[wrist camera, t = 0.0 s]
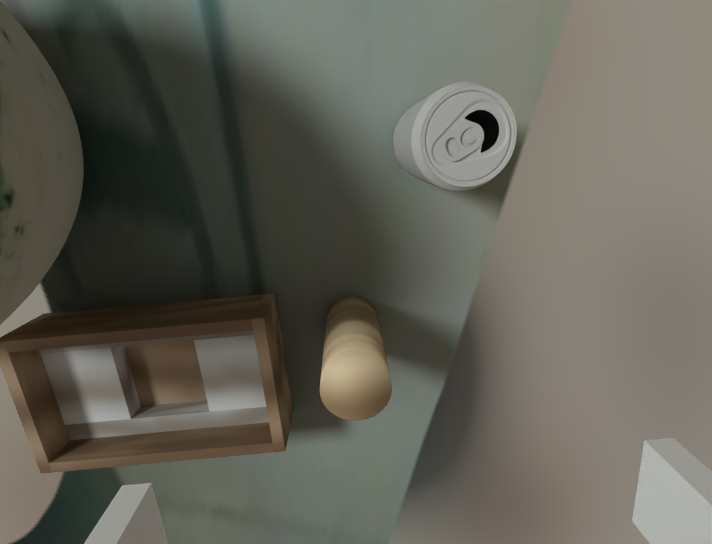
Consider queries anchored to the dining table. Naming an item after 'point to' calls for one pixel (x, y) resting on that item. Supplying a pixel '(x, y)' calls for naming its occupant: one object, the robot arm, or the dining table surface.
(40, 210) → the vase
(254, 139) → the dining table surface
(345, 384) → the peg
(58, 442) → the crate
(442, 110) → the beverage can
